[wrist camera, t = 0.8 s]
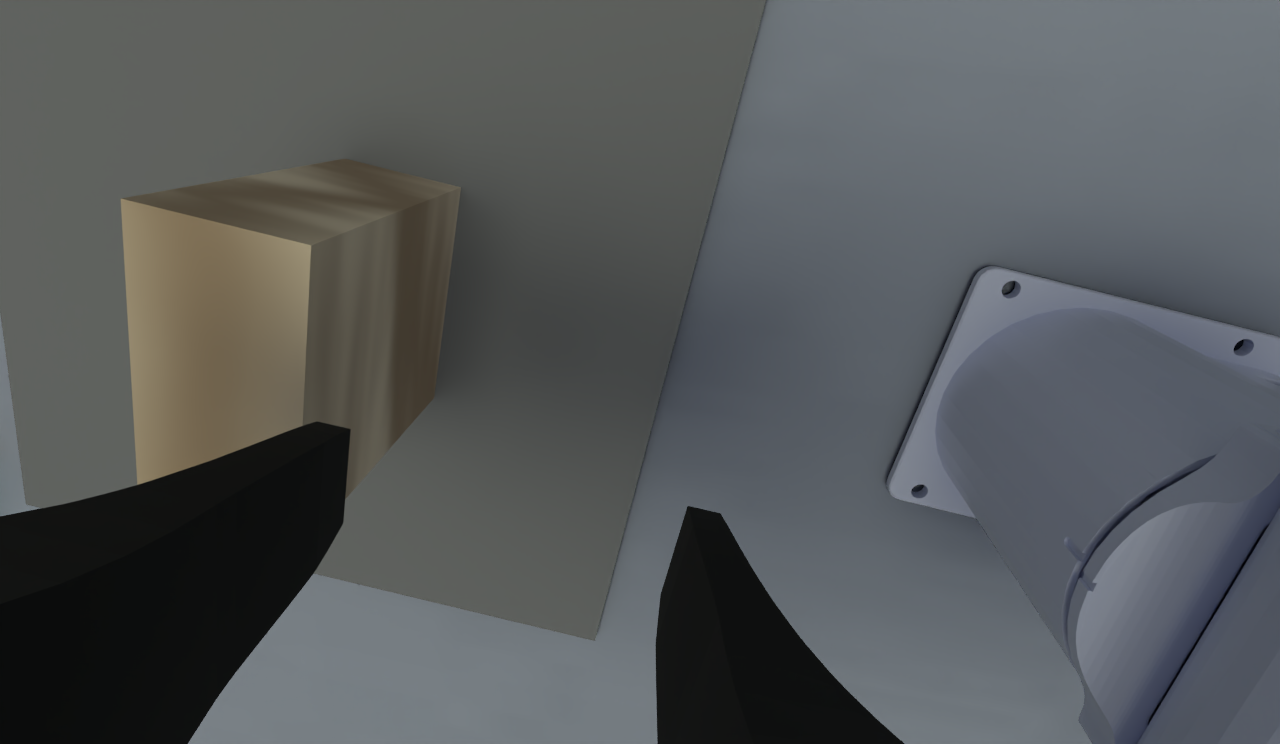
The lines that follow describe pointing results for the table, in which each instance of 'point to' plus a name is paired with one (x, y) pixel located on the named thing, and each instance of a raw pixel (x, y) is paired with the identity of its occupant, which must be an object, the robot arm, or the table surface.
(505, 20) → the rubber mat
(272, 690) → the table surface
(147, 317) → the beech block
